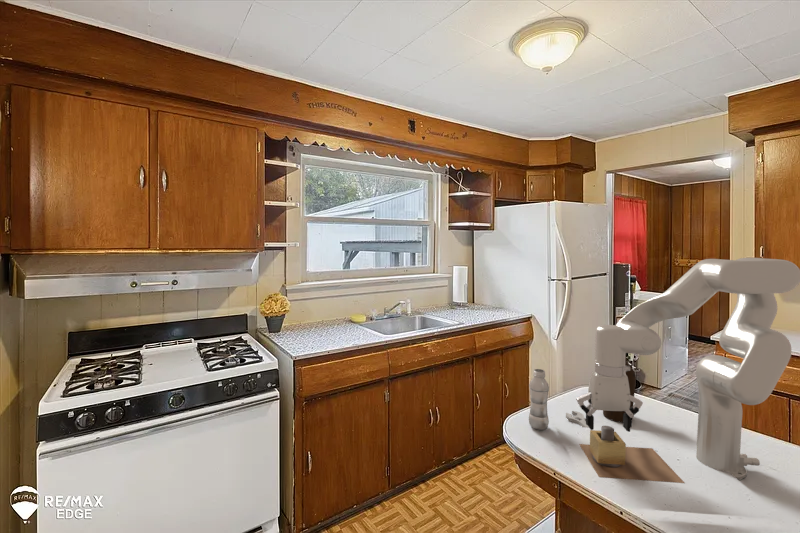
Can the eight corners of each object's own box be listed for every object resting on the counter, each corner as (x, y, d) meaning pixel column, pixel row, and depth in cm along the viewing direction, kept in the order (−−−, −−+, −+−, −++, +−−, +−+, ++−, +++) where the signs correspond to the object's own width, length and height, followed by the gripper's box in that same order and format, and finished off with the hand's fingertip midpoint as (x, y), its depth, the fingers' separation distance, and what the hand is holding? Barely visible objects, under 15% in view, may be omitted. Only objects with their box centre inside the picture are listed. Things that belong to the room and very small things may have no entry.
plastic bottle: (536, 433, 131) (537, 375, 130) (524, 424, 138) (525, 368, 136) (552, 430, 133) (554, 373, 132) (540, 422, 140) (541, 366, 138)
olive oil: (631, 412, 146) (633, 346, 145) (637, 425, 136) (639, 354, 135) (599, 408, 150) (601, 344, 148) (603, 421, 140) (605, 351, 138)
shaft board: (652, 453, 119) (653, 417, 118) (684, 488, 102) (686, 447, 101) (578, 448, 122) (579, 414, 121) (598, 482, 105) (600, 442, 104)
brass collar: (614, 451, 116) (615, 431, 115) (625, 464, 109) (625, 443, 108) (589, 449, 117) (590, 430, 116) (598, 463, 110) (598, 442, 109)
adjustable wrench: (617, 452, 121) (618, 447, 121) (596, 452, 121) (597, 447, 120) (579, 415, 146) (579, 410, 145) (562, 415, 146) (562, 410, 145)
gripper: (636, 366, 113) (634, 423, 115) (573, 364, 116) (572, 421, 117) (649, 375, 106) (647, 436, 107) (581, 373, 108) (580, 433, 110)
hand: (608, 428), depth 112 cm, fingers open, 9 cm apart
